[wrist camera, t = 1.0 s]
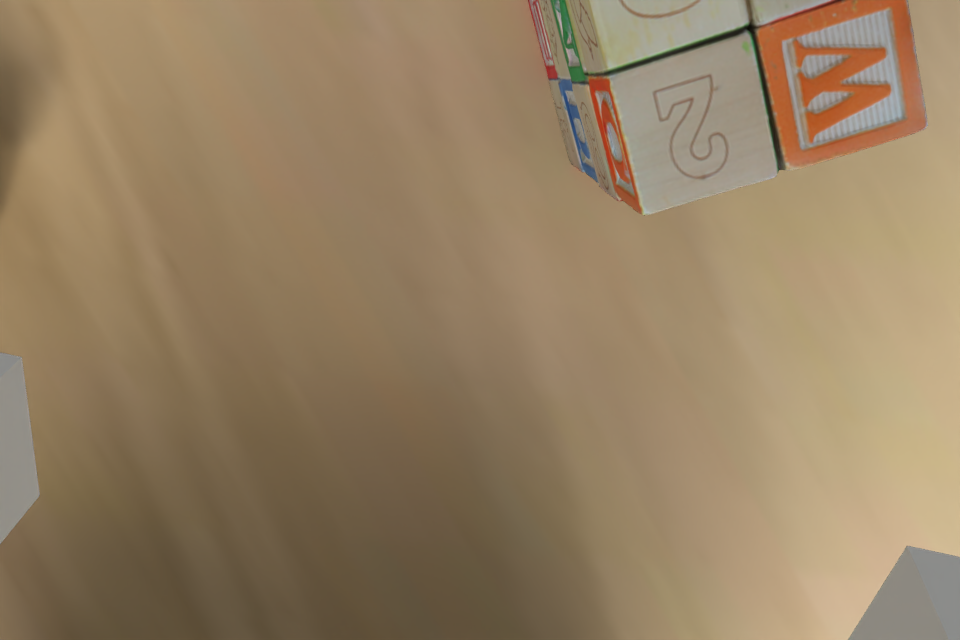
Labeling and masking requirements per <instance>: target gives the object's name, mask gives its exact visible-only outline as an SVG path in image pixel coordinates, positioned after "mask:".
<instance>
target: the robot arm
mask: <svg viewBox="0 0 960 640" xmlns="http://www.w3.org/2000/svg"><path fill="white" fill-rule="evenodd" d="M39 496H40V493H39V485H38V477H37V470H36V462H35V454H34V447H33V439H32V431H31V424H30V416H29V408H28V401H27V393H26V385H25V378H24V370H23V362H22V357H19V356H14V355H10V354H5V353H0V544H1V542H2V541H3V540H4V539H5V538H6V536H7V535H8V534H9V533H10V531H11V530H12V529H13V528H14V527H15V525H16V524H17V523H18V522H19V520H20V519H21V518H22V517H23V516H24V514H25V513H26V512H27V511H28V509H29V508H30V507H31V506H32V505H33V503H34V502H35V501H36V500H37V498H38V497H39ZM848 640H960V558H959V557H958V556H953V555H948V554H944V553H939V552H934V551H929V550H925V549H920V548H915V547H911V546H907V547H906V548H905V550H904V552H903V553H902V555H901V556H900V558H899V559H898V561H897V563H896V564H895V566H894V567H893V569H892V571H891V572H890V574H889V575H888V577H887V579H886V580H885V582H884V583H883V585H882V586H881V588H880V590H879V591H878V593H877V594H876V596H875V598H874V599H873V601H872V602H871V604H870V606H869V607H868V609H867V610H866V612H865V613H864V615H863V617H862V618H861V620H860V621H859V623H858V625H857V626H856V628H855V629H854V631H853V633H852V634H851V636H850V637H849V639H848Z"/></svg>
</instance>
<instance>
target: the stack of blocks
mask: <svg viewBox="0 0 960 640" xmlns="http://www.w3.org/2000/svg"><path fill="white" fill-rule="evenodd" d="M528 2H529V6H530V10H531V14H532V18H533V21H534V25H535V29H536V32H537V36H538V40H539V44H540V48H541V52H542V55H543V59H544V63H545V67H546V70H547V74H548V78H549V85H550V89H551V93H552V97H553V100H554V104H555V108H556V112H557V116H558V119H559V123H560V127H561V131H562V135H563V138H564V142H565V146H566V150H567V153H568V157H569V160H570V162H571V164H572V165H573V166H575V167H577V168H578V169H579V170H580V171H581V172H585V173H586V174H587V175H589V176H590V177H592V178H593V179H594V180H595V181H596V182H597V183H599V186H600V187H601V188H602V189H604V191H605V192H607V193H608V194H609V195H611V196H612V197H613V198H614V199H616V200H617V201H624V202H625V203H627V204H628V205H629V206H631V207H632V208H633V209H634V210H635V211H637V212H638V213H640V214H642V215H644V216H645V215H650V214H653V213H657V212H660V211H663V210H666V209H669V208H673V207H676V206H679V205H683V204H686V203H689V202H693V201H696V200H700V199H703V198H706V197H710V196H713V195H717V194H720V193H723V192H727V191H730V190H734V189H737V188H741V187H744V186H747V185H751V184H754V183H758V182H761V181H765V180H768V179H771V178H774V177H776V176H777V174H778V171H779V170H785V171H790V170H796V169H800V168H804V167H808V166H812V165H815V164H818V163H821V162H824V161H828V160H831V159H834V158H837V157H841V156H844V155H847V154H851V153H854V152H857V151H860V150H864V149H867V148H870V147H873V146H876V145H879V144H883V143H886V142H889V141H892V140H895V139H898V138H902V137H905V136H908V135H911V134H914V133H916V132H919V131H921V130H924V129H925V128H926V127H927V126H928V123H927V116H926V109H925V103H924V97H923V91H922V85H921V79H920V73H919V67H918V62H917V56H916V49H915V41H914V34H913V29H912V24H911V18H910V12H909V5H908V0H528Z"/></svg>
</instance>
